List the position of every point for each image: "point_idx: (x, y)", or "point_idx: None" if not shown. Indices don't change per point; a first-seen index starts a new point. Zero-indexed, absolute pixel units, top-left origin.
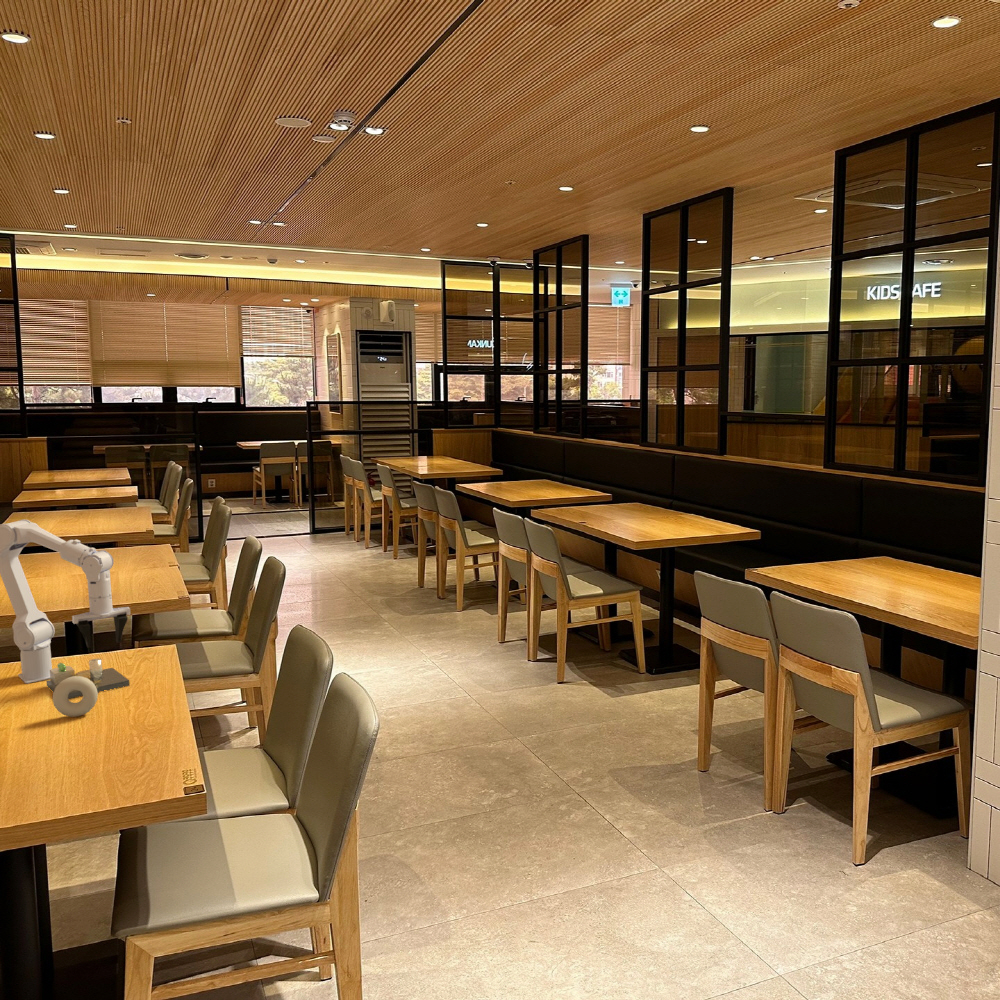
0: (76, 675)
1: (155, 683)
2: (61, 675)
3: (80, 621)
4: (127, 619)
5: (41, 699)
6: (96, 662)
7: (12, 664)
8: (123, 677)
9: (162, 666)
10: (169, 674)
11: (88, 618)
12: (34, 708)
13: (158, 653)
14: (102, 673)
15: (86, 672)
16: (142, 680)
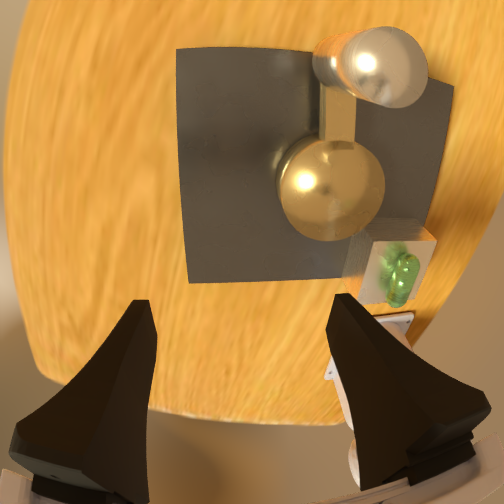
0: (380, 193)
1: (84, 20)
2: (411, 233)
3: (462, 461)
4: (15, 431)
5: (464, 150)
6: (396, 29)
7: (344, 418)
8: (184, 111)
9: (30, 232)
10: (16, 116)
11: (398, 502)
12: (498, 87)
13: (53, 350)
14: (324, 45)
15: (334, 205)
16: (112, 93)
